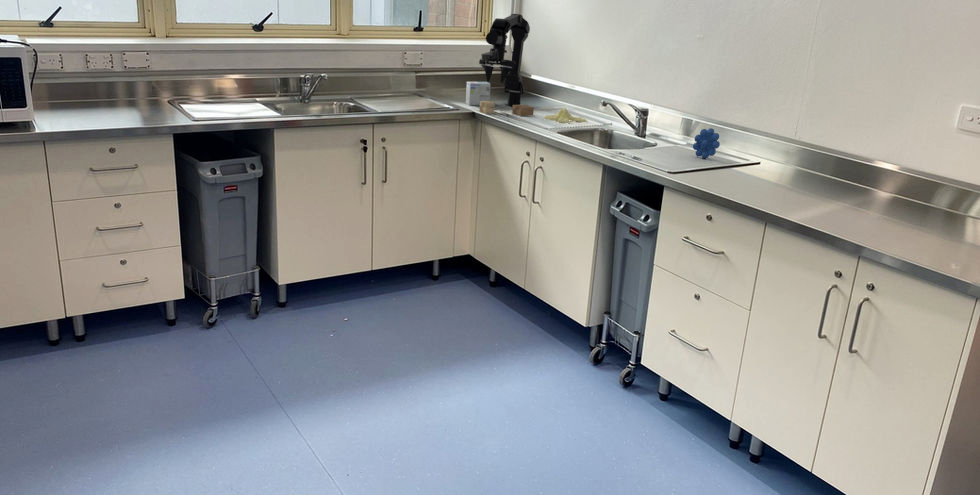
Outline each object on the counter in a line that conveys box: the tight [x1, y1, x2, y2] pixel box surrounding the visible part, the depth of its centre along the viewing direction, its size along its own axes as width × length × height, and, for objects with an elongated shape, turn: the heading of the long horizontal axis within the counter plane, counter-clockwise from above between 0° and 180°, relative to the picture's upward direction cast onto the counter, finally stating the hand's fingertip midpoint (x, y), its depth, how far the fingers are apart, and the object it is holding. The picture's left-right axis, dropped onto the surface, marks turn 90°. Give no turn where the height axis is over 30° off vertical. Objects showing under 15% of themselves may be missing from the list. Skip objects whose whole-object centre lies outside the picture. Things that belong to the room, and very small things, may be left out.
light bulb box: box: [465, 81, 491, 106], centre depth 400 cm, size 11×7×11 cm, turn 108°
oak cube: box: [479, 101, 496, 115], centre depth 381 cm, size 5×5×5 cm
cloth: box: [543, 107, 588, 125], centre depth 376 cm, size 22×19×6 cm
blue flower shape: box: [692, 127, 721, 159], centre depth 312 cm, size 12×7×12 cm, turn 39°
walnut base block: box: [511, 104, 534, 117], centre depth 381 cm, size 7×7×4 cm
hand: (494, 81), depth 376 cm, fingers open, 9 cm apart
